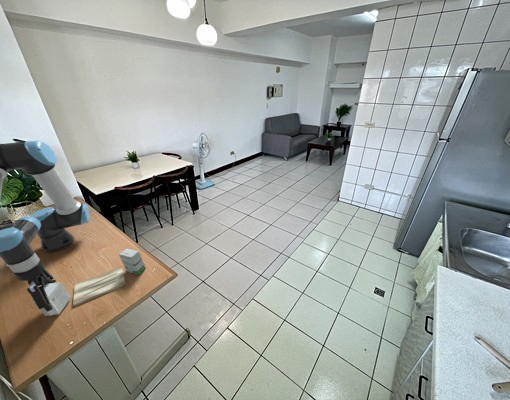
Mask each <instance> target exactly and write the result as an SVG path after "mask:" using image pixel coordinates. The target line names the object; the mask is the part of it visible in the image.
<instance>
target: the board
mask: <svg viewBox="0 0 510 400" xmlns="http://www.w3.org/2000/svg"><path fill="white" fill-rule="evenodd" d="M123 286H126V277H125V271H124V266H119V267H116V268H114V269H112V270H109V271H107V272H104V273H101V274H99V275H96V276H93V277H91V278H89V279H85V280H83V281H81V282H78V283H76V284H74V291H73V301H72V306H73V308H75V307H77V306H79V305H81V304H83V303H86V302H89V301H91V300H93V299H95V298H98V297H100V296H103V295H105V294H108V293H109V292H112V291H114V290H117V289H119V288H122V287H123Z"/></svg>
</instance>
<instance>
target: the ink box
mask: <svg viewBox="0 0 510 400" xmlns="http://www.w3.org/2000/svg"><path fill="white" fill-rule="evenodd" d="M118 256H119V259H120V260H121V263H122V265H123V268H124V269H125V272H126V273H127V272H128V273H130V274H134V275H138V276H139V275H141V274H142V273H143V272H144V271H145V270H146V266H145V263H144V261H143V258H142V256H141V253H140V251H139V250H135V249H130V248H125V249H123V250H122V251H121V252H119V254H118Z"/></svg>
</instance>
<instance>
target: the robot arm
mask: <svg viewBox="0 0 510 400" xmlns="http://www.w3.org/2000/svg"><path fill="white" fill-rule="evenodd" d="M56 163H57V157H56V155H55V152H54V150H53V149H52V147H50V146H49V145H48V143H45V142H43V141H41V140H26V141H20V142H19V141H17V142H9V143H0V200H1V199H2V198H1V197H2V190H3V182H4V179H5V178H7V176H8V173H9V172H10V171H14V170H15V171H16V170H17V171H18V170H22V171H23V172H24V173H25V174H26V175H28V176H32V177H33V179H34V180H35V181H36V182H37V183H38V184H39V186H40V187H41V189H42V190H43V191H44V193H45V194H46V195H47V196H48V197H49V199H50V201H52V203H53V204H54V205H55V207H56V209H55V208H54V207H53V206H51V207H49V206H48V207H45V208H44V207H43V208H42V209H38V210H37V211H34V212H32V213H31V214H30V215H29V216H22V217H19V218H18V219H17V220H16V221H14V222H12V223H7V224H2V225H1V224H0V258H1V260H2V261H4V263H5V264H6V267H8V268H9V269H10V270H11V271H12V272H13V274H14V275H15V277H16V278H17V279H18V280H19V281H21V282H22V281H24V282H25V281H27V284H28V286H29V287H28V288H26V291H27V292H28V293H29V295H30V296H31V298H32V299H33V300H34V301H35V303H36V304H35V303H34V304H35V305H36V307H37V308H38V310H40V309H42V308H44V309H45V311H46V312H47V313H48V314H49V315H48V316H49V317H50V316H54V315H53V314H55V313H58V309H57V308H56V307H55V306H54V304H53V303H52V302H51V301H49V299H48V297H47V294H46V292H45V289H44V287H45V285H46V284H49V283H57V280H56V279H54V276H53V275H52V274H51V273H50V272H49V271H48V270H47V269H46V267H45V264H43V262H42V260H41V259H40V258H39V255H37V254H36V252H35V251H34V249H33V248H32V246H31V245H30V244H31V243H32V241H33V240H34V238H36V236H38V237H39V239H40V248H41V250H42V251H43V252H45V253H54V252H58V251H61V250H64V249H65V248H68V246H71V244H73V243H74V241H75V236H74V235H73V234H72V233H70V231H68V230H67V228H72V227H77V226H81V225H84V224H87V223H89V222H90V219H91V215H90V208H89V206H88V205H87V204H86V203H81V202H80V201H79V200H76V199H74V197H73V195H72V194H71V192H70V191H69V189H68V188H67V186H66V184H65V183H64V181H63V180H62V179H61V177H60V176H59V175H58V173H57V171H56V170H55V168H56Z"/></svg>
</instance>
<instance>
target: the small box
mask: <svg viewBox="0 0 510 400" xmlns="http://www.w3.org/2000/svg"><path fill="white" fill-rule="evenodd" d="M44 289H45V292H46V294H47V297H48V299H49V301H51V302H52V303H53V304H54V306H55V307H56V308H57V309H58V313H55V314H53V315H52V316H54V315H55V316H57V315H60V313H61V312H62V311H63V309H64V308H65V307H66V305H67V304H68V303H69V301H70V300H71V295H70V294H69V292H67V290H66V288H65V287H64V286H63V284H62V283H61V282H54V283H49V284H46V285H45V287H44ZM31 301H32V302H33V303H34V305H36V303H35V301H34V300H33V298H32V300H31ZM39 310H40V311H41V313H42V314H43V315H44V316H45V317H47V316H50V315H49V314H48V313H47V312H46V311H45V309H44V308H42V309H39Z"/></svg>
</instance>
